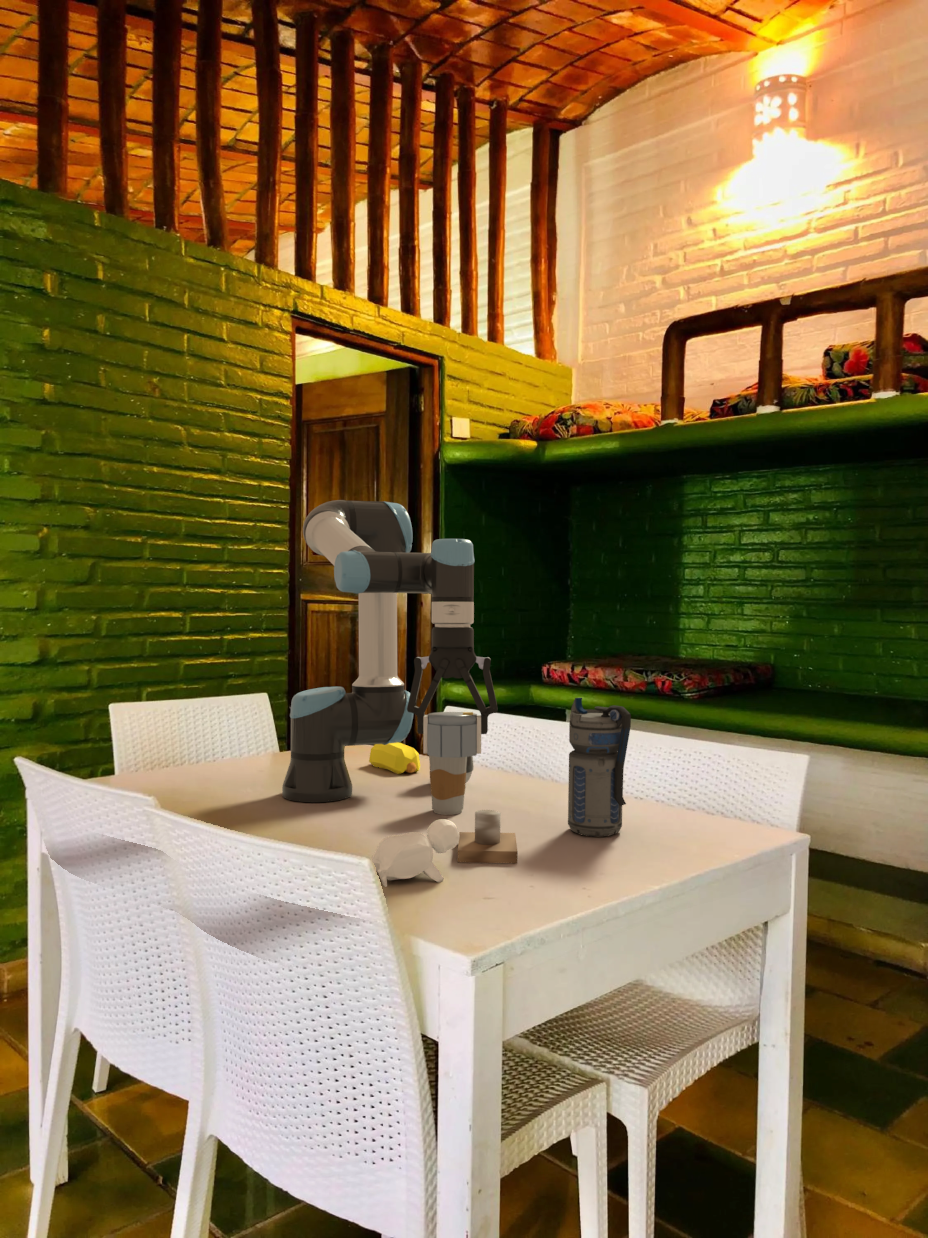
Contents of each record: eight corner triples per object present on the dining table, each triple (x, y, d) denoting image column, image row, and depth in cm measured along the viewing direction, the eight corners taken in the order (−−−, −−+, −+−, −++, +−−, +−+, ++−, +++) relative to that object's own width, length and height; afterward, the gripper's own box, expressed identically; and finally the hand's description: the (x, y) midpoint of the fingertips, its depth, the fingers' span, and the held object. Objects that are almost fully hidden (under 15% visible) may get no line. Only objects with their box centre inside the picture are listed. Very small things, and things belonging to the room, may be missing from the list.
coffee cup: (474, 809, 200) (475, 737, 199) (457, 818, 192) (458, 743, 192) (438, 805, 203) (439, 734, 203) (420, 813, 196) (420, 739, 195)
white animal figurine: (395, 908, 148) (477, 861, 154) (376, 859, 146) (460, 814, 152) (375, 892, 156) (454, 848, 162) (357, 845, 154) (437, 803, 160)
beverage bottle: (609, 844, 174) (611, 706, 173) (554, 830, 184) (555, 699, 183) (643, 834, 181) (645, 701, 180) (588, 821, 191) (590, 695, 190)
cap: (425, 757, 168) (425, 715, 168) (429, 749, 177) (429, 709, 177) (476, 757, 168) (476, 715, 168) (477, 750, 177) (477, 709, 177)
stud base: (457, 862, 162) (458, 821, 161) (459, 843, 174) (459, 804, 173) (517, 863, 162) (517, 821, 161) (515, 844, 174) (515, 805, 173)
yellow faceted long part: (400, 777, 233) (427, 774, 237) (400, 750, 232) (427, 747, 237) (363, 765, 247) (388, 762, 252) (363, 739, 247) (389, 737, 251)
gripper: (390, 626, 169) (390, 755, 169) (513, 626, 168) (513, 756, 168) (394, 625, 176) (394, 748, 177) (512, 625, 175) (512, 749, 176)
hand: (452, 752), depth 172 cm, fingers closed on cap, 9 cm apart
